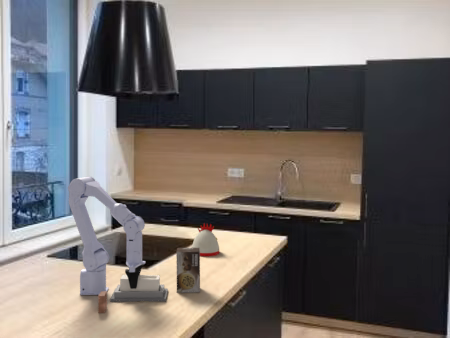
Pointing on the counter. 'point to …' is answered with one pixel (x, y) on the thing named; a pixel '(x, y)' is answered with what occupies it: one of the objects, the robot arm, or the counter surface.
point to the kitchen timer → (206, 242)
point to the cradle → (139, 295)
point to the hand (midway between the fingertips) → (134, 285)
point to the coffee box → (188, 270)
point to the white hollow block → (141, 283)
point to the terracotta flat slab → (102, 302)
